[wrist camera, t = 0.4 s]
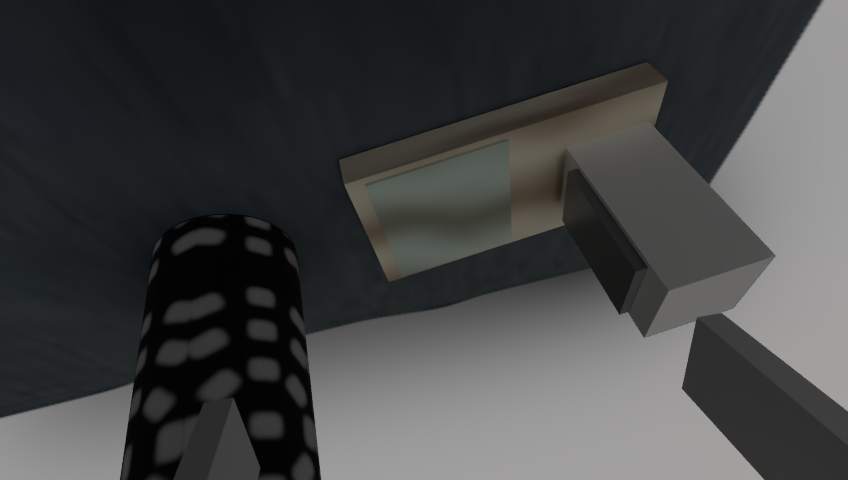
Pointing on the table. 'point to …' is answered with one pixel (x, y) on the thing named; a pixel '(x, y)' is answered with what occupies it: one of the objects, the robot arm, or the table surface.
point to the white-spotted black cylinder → (223, 348)
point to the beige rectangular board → (487, 171)
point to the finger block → (656, 230)
